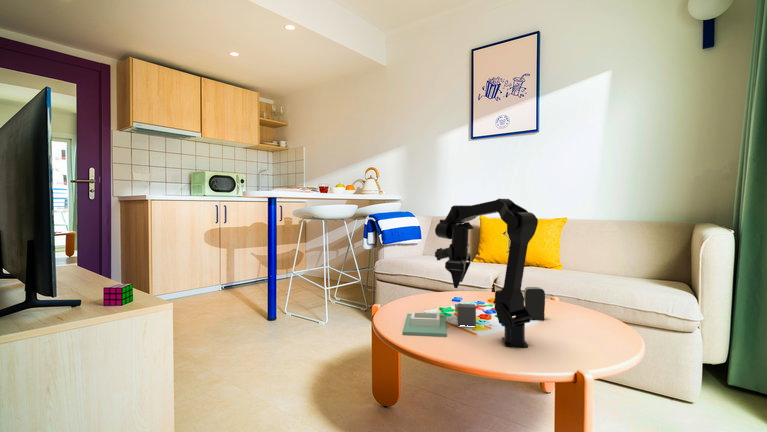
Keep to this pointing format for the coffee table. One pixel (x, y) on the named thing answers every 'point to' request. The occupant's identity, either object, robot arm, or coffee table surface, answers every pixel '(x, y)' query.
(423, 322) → the board
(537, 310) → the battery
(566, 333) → the coffee table surface
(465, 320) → the plug
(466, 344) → the coffee table surface
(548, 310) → the coffee table surface
